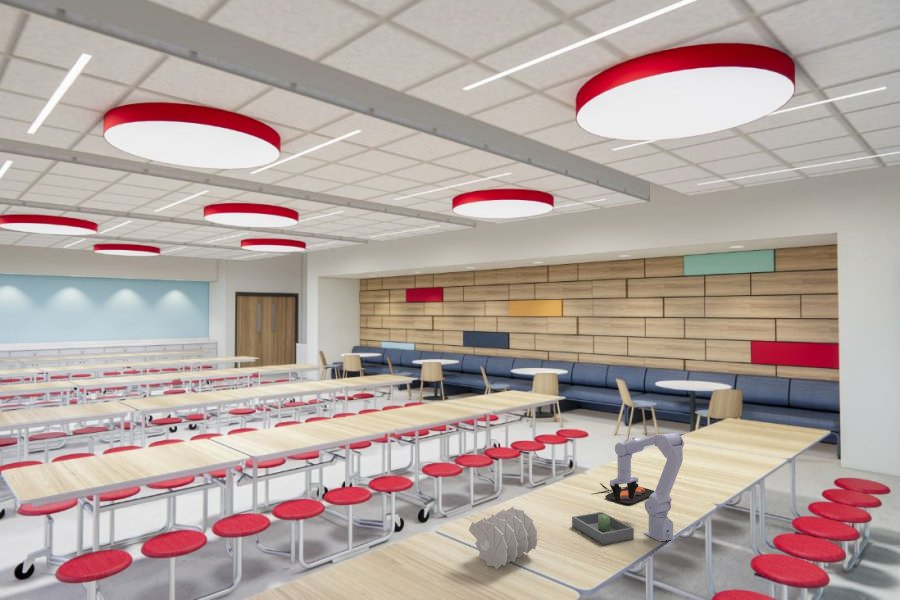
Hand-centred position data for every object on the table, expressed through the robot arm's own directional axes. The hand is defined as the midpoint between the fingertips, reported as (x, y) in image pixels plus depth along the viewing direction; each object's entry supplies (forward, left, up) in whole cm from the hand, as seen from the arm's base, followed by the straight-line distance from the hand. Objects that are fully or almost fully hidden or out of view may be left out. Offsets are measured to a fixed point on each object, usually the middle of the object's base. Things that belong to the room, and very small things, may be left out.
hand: (624, 499), depth 240 cm
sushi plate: (+32, -24, -10) cm, 41 cm away
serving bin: (-7, +18, -9) cm, 21 cm away
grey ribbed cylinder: (-13, +68, -10) cm, 70 cm away
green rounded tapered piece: (-7, +17, -9) cm, 20 cm away
